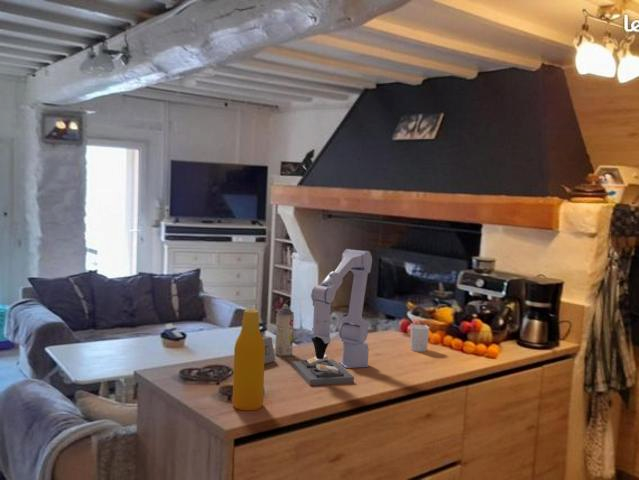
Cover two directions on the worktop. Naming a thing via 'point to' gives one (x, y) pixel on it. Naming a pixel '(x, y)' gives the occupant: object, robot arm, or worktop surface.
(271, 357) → the electrical switch
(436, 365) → the worktop surface
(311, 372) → the breaker panel
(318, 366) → the front rocker
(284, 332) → the aerosol can
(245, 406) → the beer bottle
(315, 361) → the back rocker
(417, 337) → the white cup
